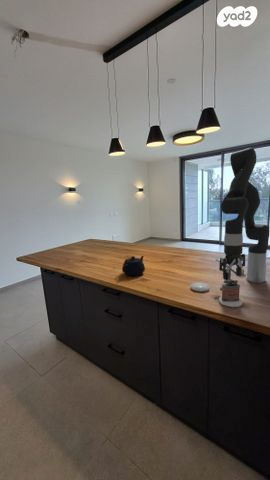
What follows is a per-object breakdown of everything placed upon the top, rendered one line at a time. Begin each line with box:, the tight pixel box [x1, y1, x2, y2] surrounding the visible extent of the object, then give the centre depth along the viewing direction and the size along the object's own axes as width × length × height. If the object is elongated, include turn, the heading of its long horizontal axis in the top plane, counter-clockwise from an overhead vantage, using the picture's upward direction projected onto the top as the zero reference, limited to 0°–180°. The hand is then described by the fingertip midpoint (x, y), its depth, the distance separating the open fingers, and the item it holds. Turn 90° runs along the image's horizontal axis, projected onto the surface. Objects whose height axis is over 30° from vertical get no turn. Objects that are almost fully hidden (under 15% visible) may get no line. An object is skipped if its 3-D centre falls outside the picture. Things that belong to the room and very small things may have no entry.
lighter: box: [221, 279, 241, 302], centre depth 98 cm, size 8×3×10 cm, turn 89°
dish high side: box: [190, 282, 210, 292], centre depth 117 cm, size 10×10×2 cm
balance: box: [215, 258, 247, 291], centre depth 112 cm, size 5×18×16 cm, turn 27°
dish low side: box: [218, 295, 243, 308], centre depth 99 cm, size 10×10×2 cm
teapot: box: [121, 255, 146, 277], centre depth 146 cm, size 25×16×12 cm, turn 145°
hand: (232, 277), depth 97 cm, fingers open, 8 cm apart
